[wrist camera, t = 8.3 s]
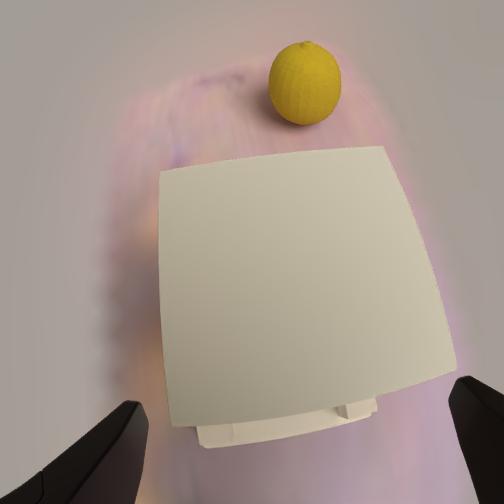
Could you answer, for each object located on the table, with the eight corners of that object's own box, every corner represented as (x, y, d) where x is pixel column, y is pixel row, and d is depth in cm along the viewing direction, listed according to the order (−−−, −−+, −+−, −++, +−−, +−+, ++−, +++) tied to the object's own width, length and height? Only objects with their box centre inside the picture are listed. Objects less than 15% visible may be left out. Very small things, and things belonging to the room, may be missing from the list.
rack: (363, 414, 16) (383, 418, 13) (208, 444, 16) (196, 455, 12) (330, 273, 20) (343, 249, 16) (187, 298, 19) (172, 279, 16)
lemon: (344, 120, 25) (361, 44, 18) (310, 155, 24) (322, 70, 16) (293, 94, 27) (297, 21, 20) (255, 124, 25) (251, 43, 18)
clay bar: (318, 386, 15) (457, 369, 4) (242, 398, 15) (170, 426, 4) (305, 315, 17) (382, 145, 5) (232, 326, 17) (159, 171, 5)
